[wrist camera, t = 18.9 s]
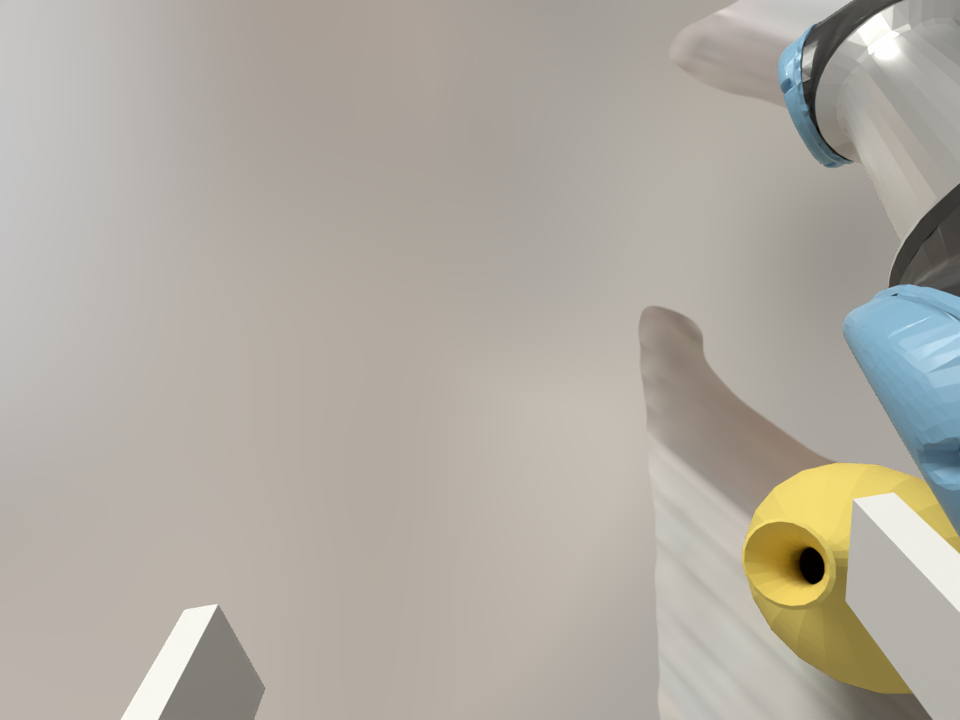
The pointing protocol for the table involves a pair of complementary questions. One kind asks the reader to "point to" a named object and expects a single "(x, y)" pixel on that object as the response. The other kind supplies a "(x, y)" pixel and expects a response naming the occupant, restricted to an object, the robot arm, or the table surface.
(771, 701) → the table surface
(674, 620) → the table surface
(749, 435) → the table surface
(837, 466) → the vase
